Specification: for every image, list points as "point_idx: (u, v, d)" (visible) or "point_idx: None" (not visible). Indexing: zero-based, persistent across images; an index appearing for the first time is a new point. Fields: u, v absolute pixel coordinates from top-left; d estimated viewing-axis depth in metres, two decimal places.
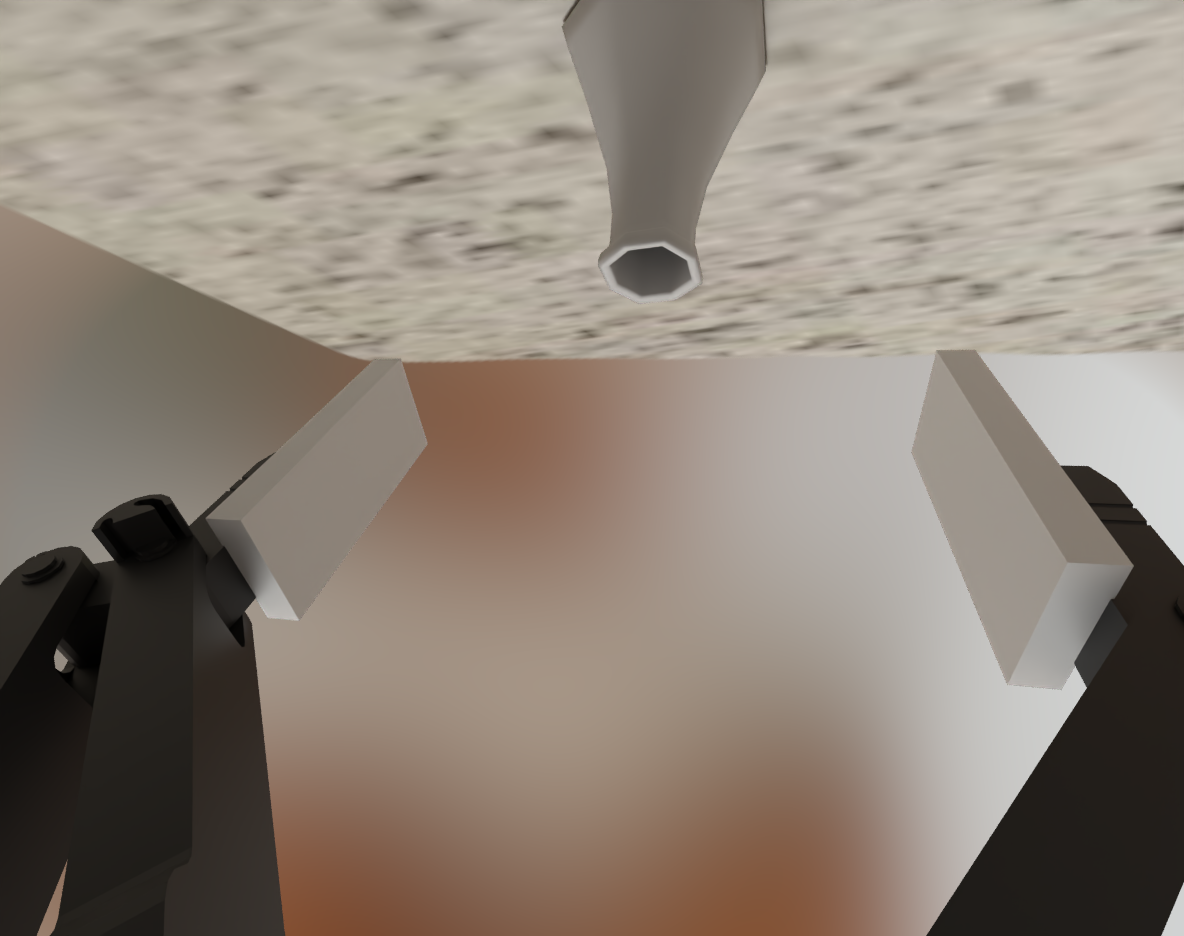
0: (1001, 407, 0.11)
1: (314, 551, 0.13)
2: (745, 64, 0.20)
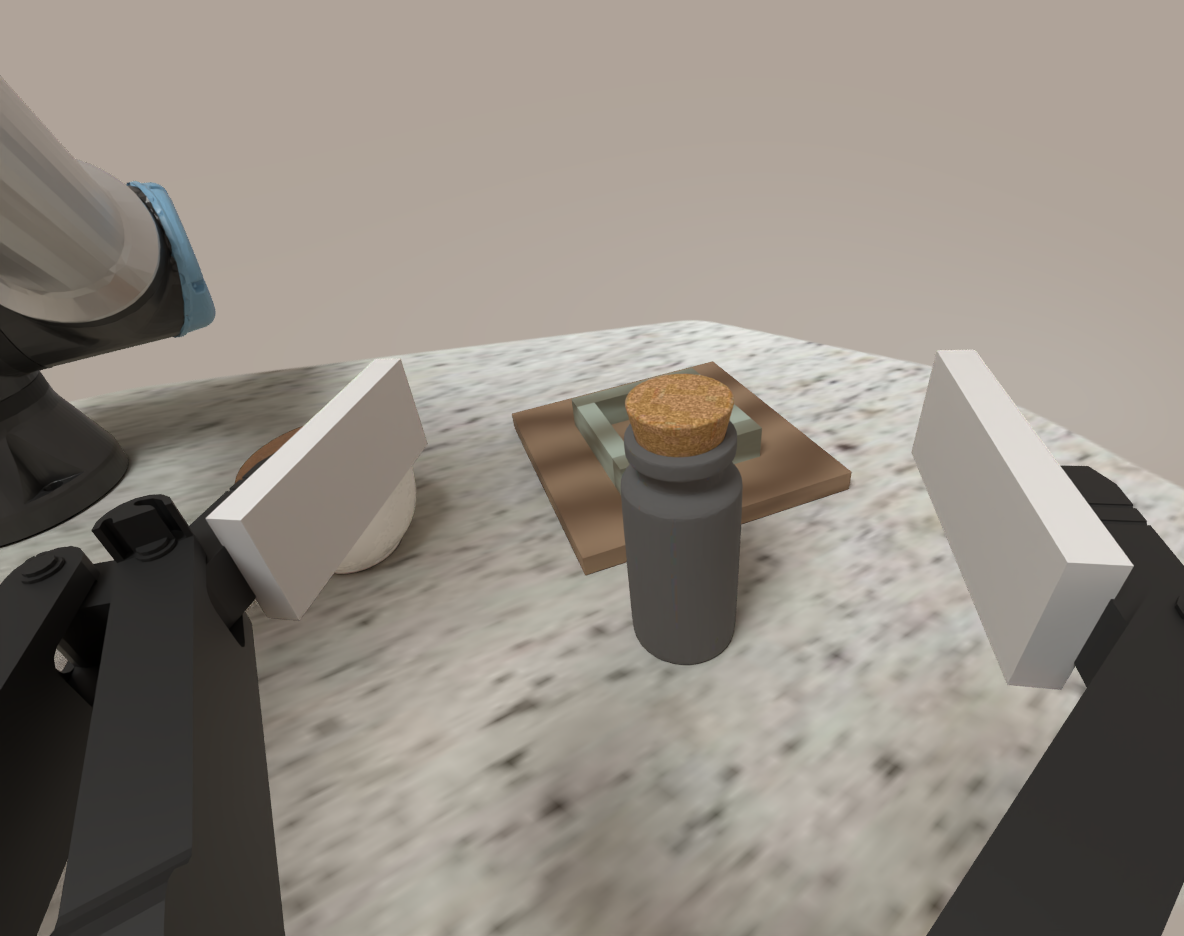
0: (1001, 407, 0.11)
1: (314, 551, 0.13)
2: None
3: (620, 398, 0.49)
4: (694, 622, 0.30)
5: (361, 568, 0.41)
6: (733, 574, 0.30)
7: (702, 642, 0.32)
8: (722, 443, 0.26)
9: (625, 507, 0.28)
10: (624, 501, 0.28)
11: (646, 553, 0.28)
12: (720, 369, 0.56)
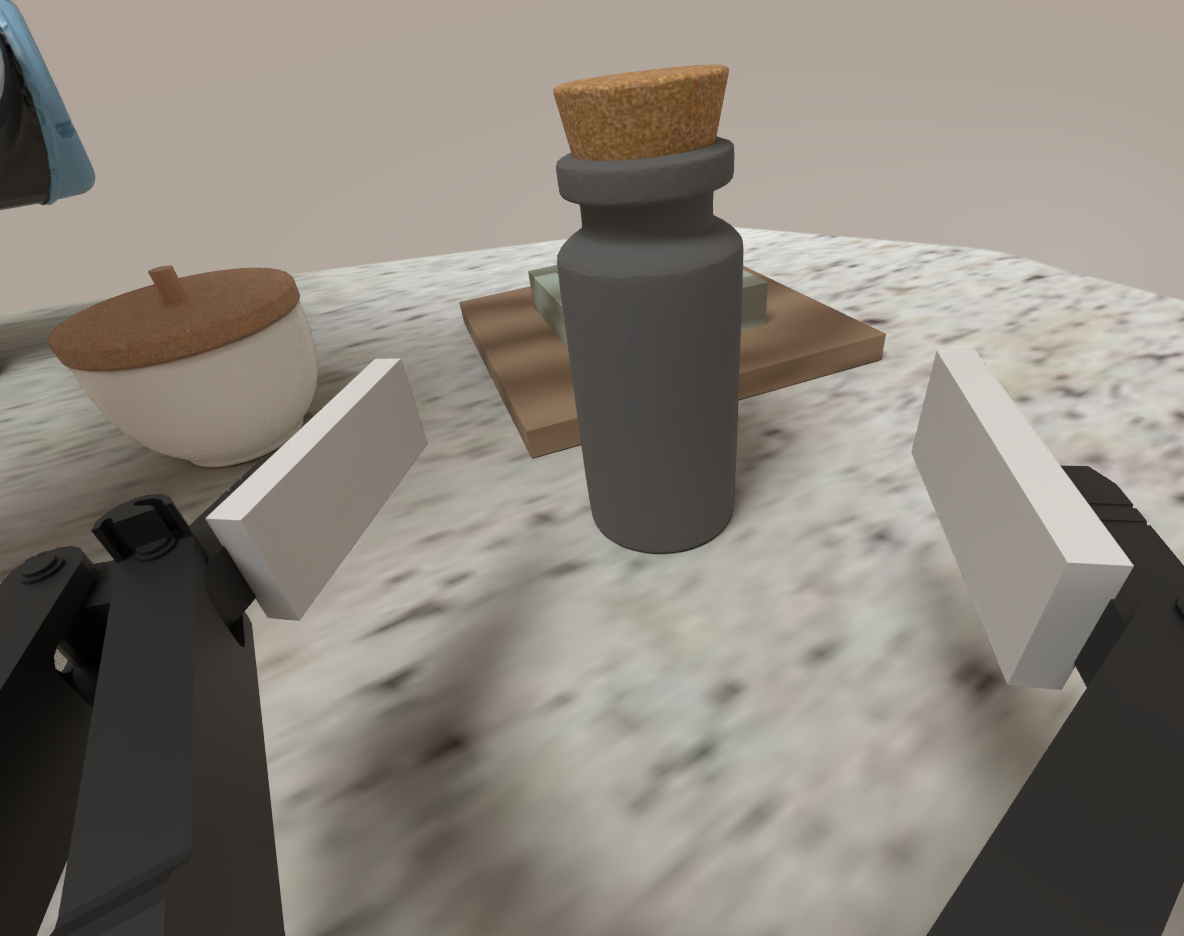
0: (1001, 407, 0.11)
1: (314, 551, 0.13)
2: None
3: None
4: (672, 478, 0.20)
5: (240, 460, 0.31)
6: (730, 403, 0.20)
7: (685, 514, 0.21)
8: (710, 146, 0.16)
9: (563, 285, 0.18)
10: (561, 275, 0.18)
11: (596, 357, 0.18)
12: None
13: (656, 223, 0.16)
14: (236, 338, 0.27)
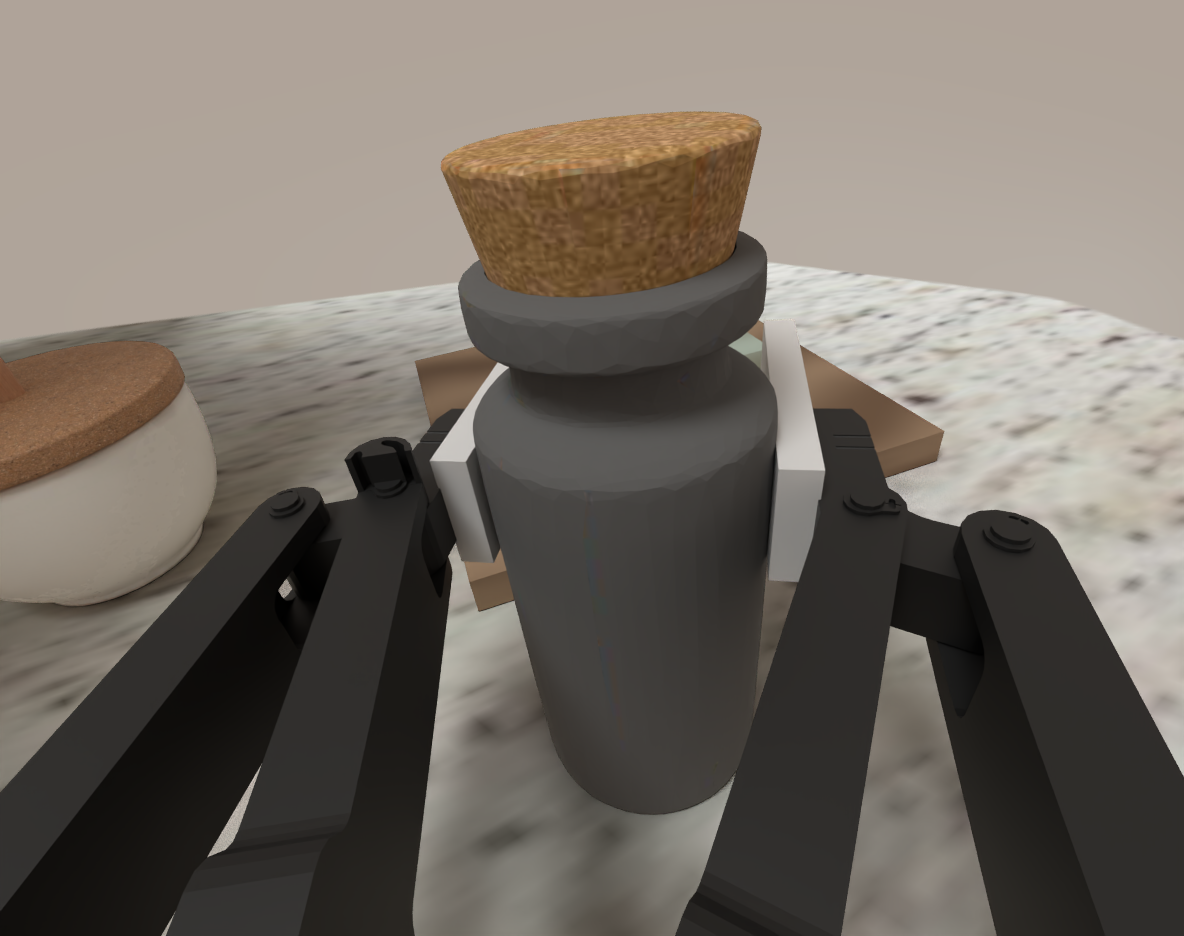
0: (790, 362, 0.13)
1: None
2: None
3: None
4: (662, 739, 0.13)
5: (105, 597, 0.24)
6: (752, 629, 0.13)
7: (682, 773, 0.14)
8: (726, 265, 0.09)
9: (480, 467, 0.11)
10: None
11: (535, 584, 0.11)
12: None
13: (629, 396, 0.09)
14: (70, 461, 0.20)
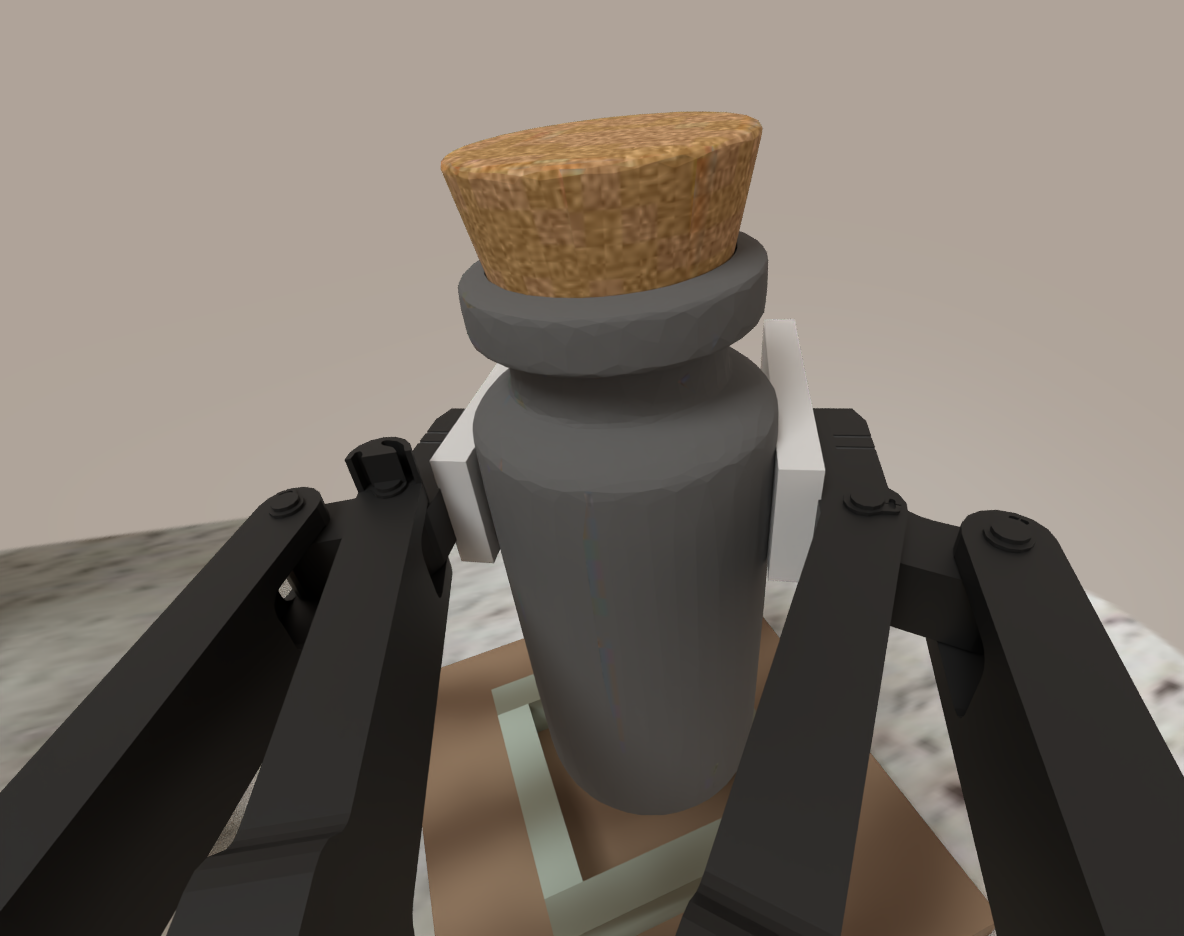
0: (790, 362, 0.13)
1: None
2: None
3: None
4: (662, 741, 0.13)
5: None
6: (753, 630, 0.13)
7: (682, 775, 0.14)
8: (726, 266, 0.09)
9: (480, 468, 0.11)
10: None
11: (535, 585, 0.11)
12: None
13: (629, 397, 0.09)
14: None
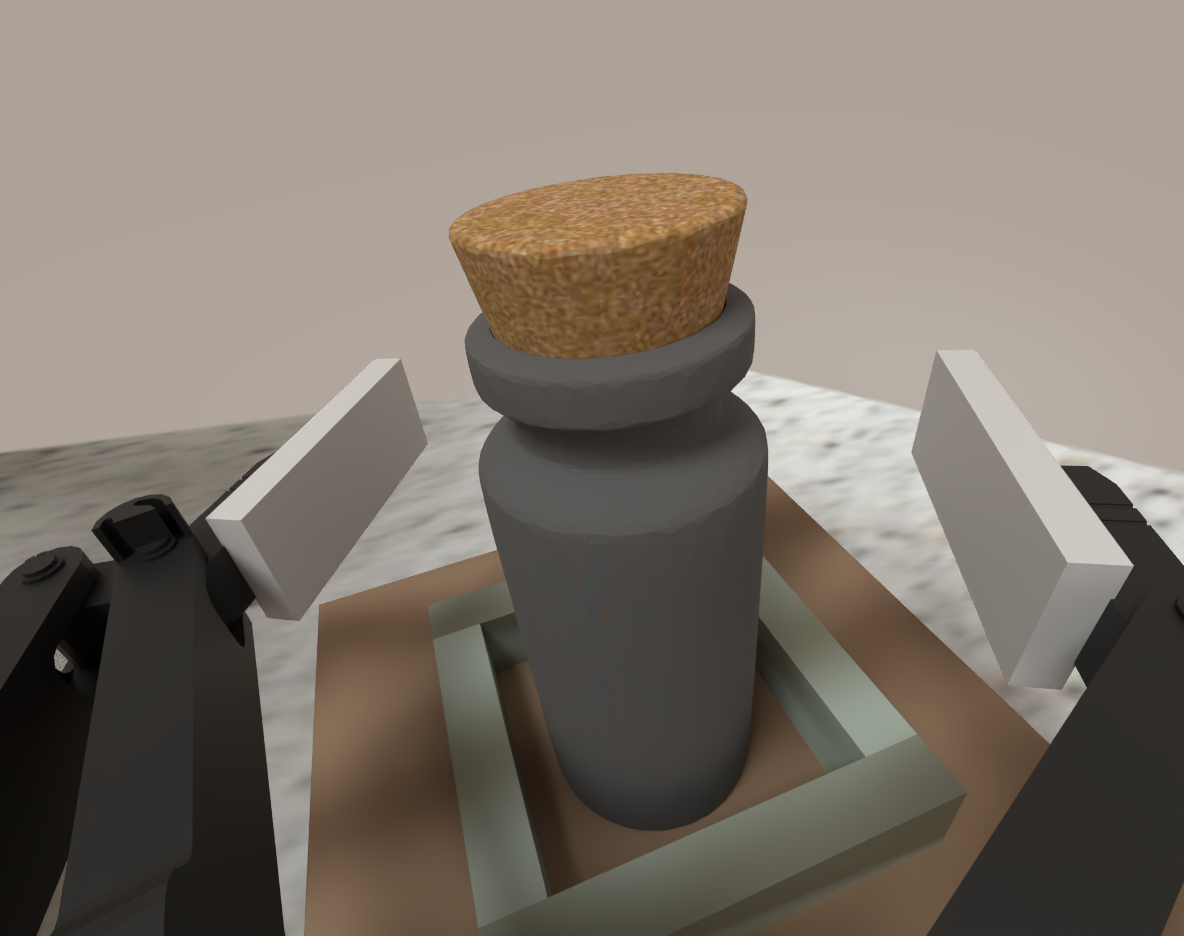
0: (1001, 407, 0.11)
1: (314, 551, 0.13)
2: None
3: None
4: (661, 761, 0.14)
5: None
6: (747, 655, 0.13)
7: (681, 793, 0.15)
8: (715, 325, 0.09)
9: (486, 506, 0.12)
10: (482, 491, 0.12)
11: (539, 617, 0.12)
12: (778, 491, 0.27)
13: (625, 445, 0.10)
14: None
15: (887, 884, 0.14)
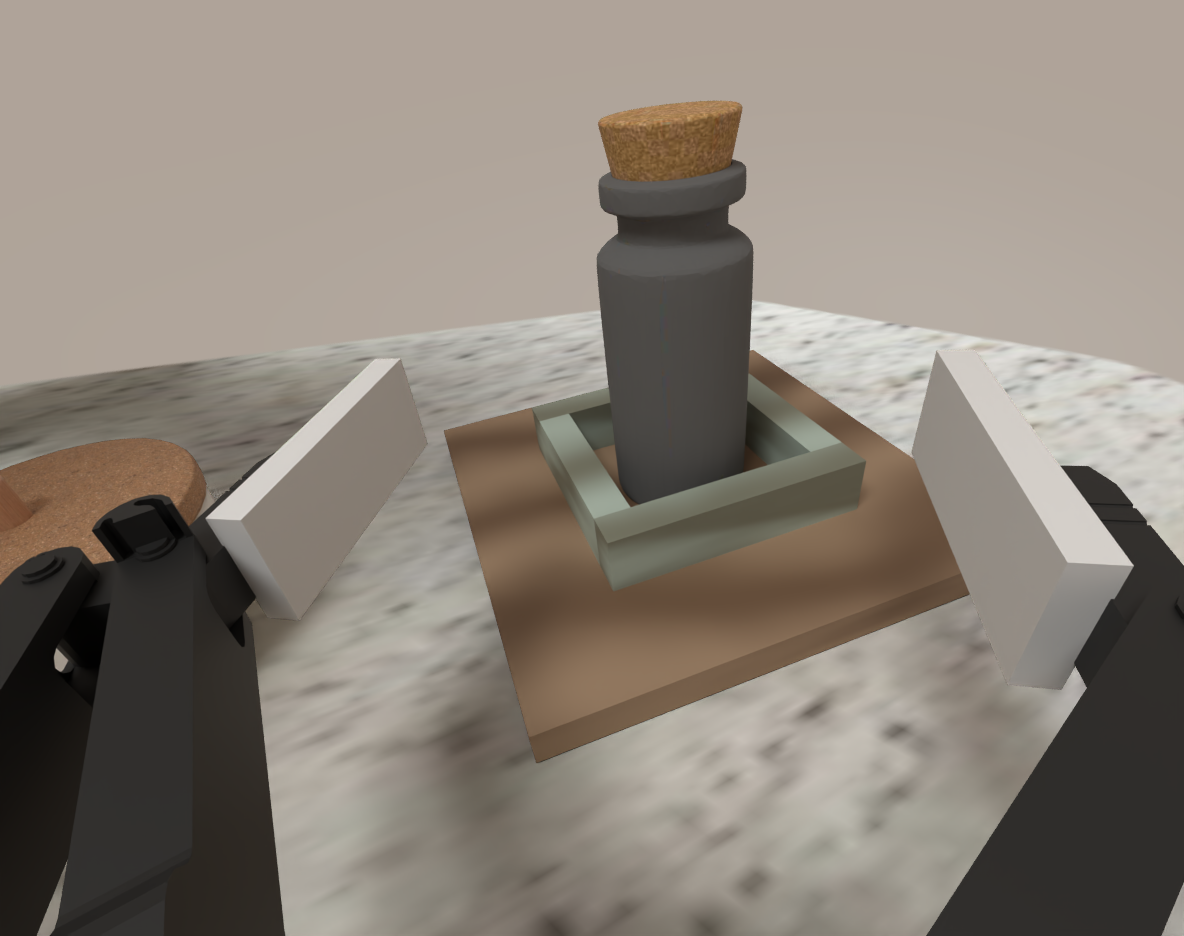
0: (1001, 407, 0.11)
1: (314, 551, 0.13)
2: None
3: None
4: (692, 446, 0.24)
5: None
6: (741, 383, 0.24)
7: (702, 479, 0.25)
8: (727, 169, 0.20)
9: (602, 283, 0.22)
10: (601, 274, 0.22)
11: (630, 343, 0.22)
12: (766, 361, 0.37)
13: (682, 231, 0.20)
14: None
15: (823, 525, 0.25)
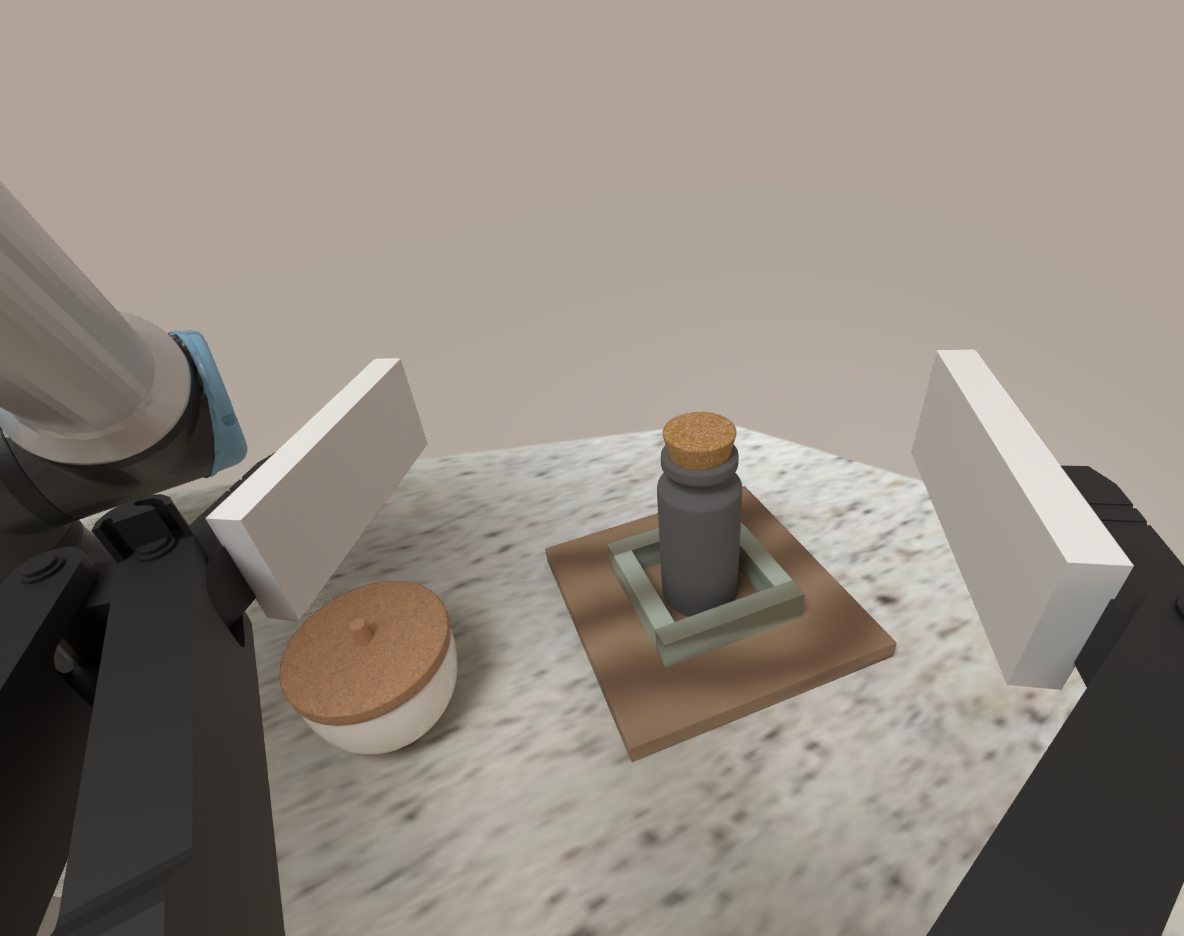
0: (1001, 407, 0.11)
1: (314, 551, 0.13)
2: None
3: (657, 544, 0.49)
4: (708, 585, 0.43)
5: None
6: (736, 551, 0.43)
7: (713, 600, 0.44)
8: (728, 460, 0.39)
9: (661, 504, 0.41)
10: (660, 500, 0.41)
11: (676, 536, 0.41)
12: (753, 497, 0.56)
13: (705, 489, 0.39)
14: (420, 688, 0.36)
15: (781, 628, 0.44)
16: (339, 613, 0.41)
